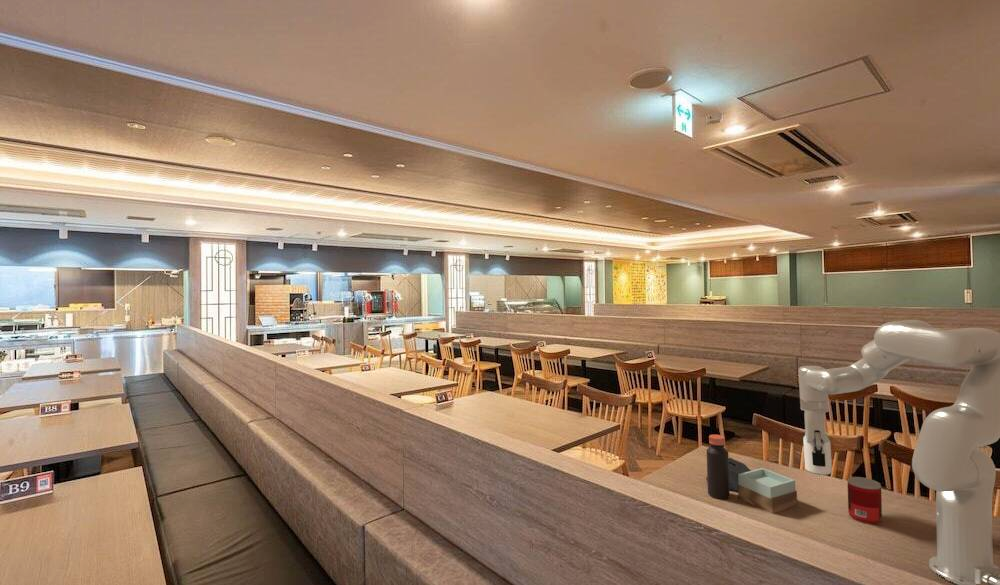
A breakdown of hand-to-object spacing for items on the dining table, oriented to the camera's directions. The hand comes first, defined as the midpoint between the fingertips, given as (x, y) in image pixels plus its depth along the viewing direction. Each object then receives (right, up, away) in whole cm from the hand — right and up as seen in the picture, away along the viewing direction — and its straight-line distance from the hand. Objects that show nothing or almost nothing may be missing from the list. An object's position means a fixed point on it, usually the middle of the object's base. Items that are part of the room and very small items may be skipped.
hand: (817, 461), depth 146 cm
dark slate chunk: (-16, -16, +24) cm, 33 cm away
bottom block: (-13, -16, +6) cm, 21 cm away
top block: (-13, -11, +6) cm, 18 cm away
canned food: (+10, -15, -7) cm, 19 cm away
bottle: (-26, -16, +12) cm, 33 cm away
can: (0, -4, 0) cm, 4 cm away
